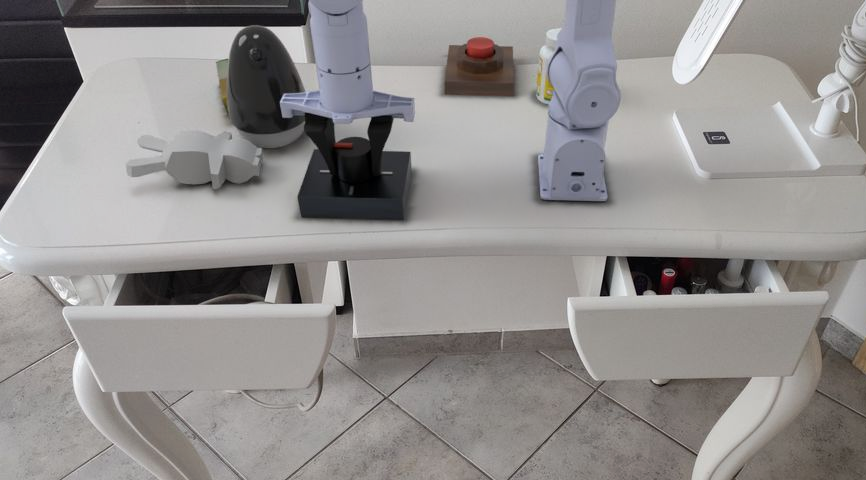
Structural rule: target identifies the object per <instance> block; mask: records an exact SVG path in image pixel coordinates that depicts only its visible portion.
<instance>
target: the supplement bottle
mask: <svg viewBox="0 0 866 480" xmlns="http://www.w3.org/2000/svg"><path fill="white" fill-rule="evenodd" d="M562 28H563V27H557V28H552V29H549V30H547V32H546V34H545V41H544V42H545V44H544V45H543V46H542V47H541V48H540V50H539V55H538V64H537V76H536V86H535V96H536V98H537V100H538V101H539V102H540V103H543V104H545V105H548V106H549V103H550V101H551V99H552V96H553V94H554V87H553V86H552V85H551V84H550V82H549V80H548V78H547V72H546V70H547V64H548V61H549V59H550V57H551V55H552V54H553V52H554V50H555V47H556V43H557V34H558V33H559V31H560V30H561V29H562Z"/></svg>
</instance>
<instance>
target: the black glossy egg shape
mask: <svg viewBox="0 0 866 480" xmlns="http://www.w3.org/2000/svg"><path fill="white" fill-rule="evenodd" d="M228 58H229V59H228ZM228 58H227V59H228V69H227V104H228V113H229V116H228V118H229V120H230V123H231V124H232V126H233V127H235V130H236V131H237V132H238V134H239V135H240V136H241V138H244V139H246V140H248V141H250V142H251V143H252V144H253V145H255V146H256V147H257V148H262V149H263V148H264V149H277V148H282V147H285V146H288V145H290V144H292V143H294V142H295V141H297V140H298V139H299V138H300V137H301V136H302V134H303V133H304V132H305V131H304V124H305V115H293V117H291V118H283V117H282V112H281V106H280V101H281V99H282V97H283V94H293V93H304V92H306V90H305V89H306V88H305V86H304V83H303V81H302V78H301V76H300V74H299V71H298V69H297V67H296V65H295V62H294V60H293V58H292V57H291V54H290V52H289V51H288V49H287V47H286V46H285V45H284V43H283V42H282V41H281V39H280V38H279V37H278V35H276V33H274V32H273V31H272V30H271V29H270V28H268V27H266V26H264V25H258V24H256V25H255V24H254V25H253V24H252V25H248V26H245V27H243V28H242V29H241V30H239V31H238V32H237V34H236V35H235V36H234V39H233V41H232V43H231V47H230V50H229V55H228Z"/></svg>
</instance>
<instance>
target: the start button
mask: <svg viewBox="0 0 866 480" xmlns="http://www.w3.org/2000/svg"><path fill="white" fill-rule="evenodd" d="M466 44H467V55H468V56H469V57H472V58H476V59H485V58H490V57H492V56H493V55H494V44H495V42H494V40H493V39H491V38H489V37H485V36H476V37H472V38H469V39H468V40H467V42H466Z"/></svg>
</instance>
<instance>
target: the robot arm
mask: <svg viewBox="0 0 866 480" xmlns="http://www.w3.org/2000/svg"><path fill="white" fill-rule="evenodd" d="M363 1H364V0H308V4H307V5H308V6H307V7H308V12H309V14H310V16H311V17H310V19H309V27H310V33H311V40H312V48H313V55H314V63H315V68H316V75H317V82H318V89H319V90H313V91H305V92H304V93H293V94H283V97H282V99H281V101H280V106H281V112H282V117H283V118H291V117H293V115H305V124H304V131H303V132H304V134H305V135H306V136H307V137H308V138H309V139H310V140H311V142H312V143H313V144H314V145H315V146H316V149H319V151H320V153H321V154H322V156H323V158H324V160H325V162H326V164H327V166H328V169H329V172H330V174H332V175H336V173H337V168H336V161H335V153H334V143H335V142H336V143H337V141H336V133H335V130H336V129H335V124H337V125H350V124H352V123H353V121H354V120H360V119H367V118H370V120H369V124H368V126H367V130H366V131H367V137H368V140H369V142H370V147H371V154H372V174H373V176H379V174H380V169H381V158H382V151H384V148H385V146H386V143H387V141H388V139H389V137H390V134H391V133H392V132H391V131H392V128H393V124H394V119H400V120H401V119H402V120H403V121H404V122H405V123H413V122H415V117H416V102H415V100H416V99H415V97H409V96H408V97H406V96H400V95H395V94H391V93H386V92H382V91H378V90H377V91H376V90H374V85H373V75H372V74H373V73H372V64H371V51H370V39H369V28H368V17H367V15H366V14H365V12H364V3H363ZM616 4H617V0H565V11H564V23H563V27H561V28H562V29H561V30H560V31H559V33H558V34H557V43H556V47H555V50H554V52H553V54H552V55H551V57H550V59H549V61H548V64H547V70H546V72H547V78H548V80H549V82H550V84H551V85H552V86H553V87H554V94H553V96H552V99H551V101H550V103H549V105H548V107H547V116H546V118H547V119H546V126H545V127H546V129H545V140H544V149H543V153H539V154H538V155H537V156H538V157H537V164H538V166H537V167H538V176H539V177H538V180H539V181H538V182H539V193H540V194H539V196H540V199H541V200H543V201H544V200H545V201H580V202H607V200H608V197H609V195H608V192H607V185H606V181H605V175H604V170H605V164H606V158H607V157H606V156H607V155H606V149H605V148H606V142H607V135H608V129H609V123H610V121H611V119H612V118H613V117H614V116H615V115H616V113H617V111H618V110H619V108H620V104H621V100H622V94H621V89H620V87H619V85H618V82H617V69H618V63H617V57H616V53H615V48H614V43H613V37H612V35H613V27H614V21H615V20H614V19H615V13H616V6H617V5H616Z"/></svg>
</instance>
